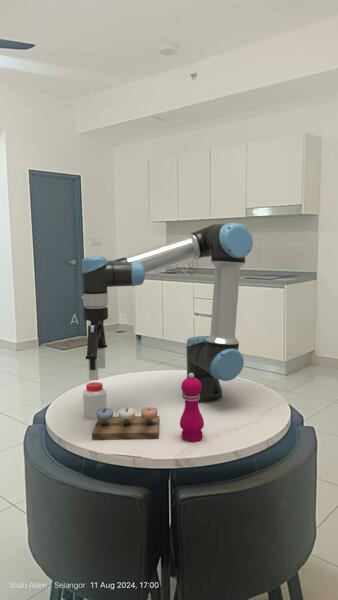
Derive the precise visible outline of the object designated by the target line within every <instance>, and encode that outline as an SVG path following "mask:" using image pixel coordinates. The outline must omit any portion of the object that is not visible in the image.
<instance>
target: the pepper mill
mask: <svg viewBox="0 0 338 600" xmlns="http://www.w3.org/2000/svg"><path fill="white" fill-rule="evenodd" d="M188 377H189V378H187V377H186V378H184V380H183V381H182V382H181V391H182V397H183V398H182V399H183V400H184V409H183V412H182V414H181V417H180V420H179V427H180V429H182V431H181V439H182V440H183V441H186V442H193V443H194V442H198V441H201V440H202V439H203V431H202V429H203V428H205V427H204V426H205V423H204V417H203V415H202V413H201V411H200V409H199V407H200V406H199V402H198V401H199V399H200V394H199V392H200V391H201V388H202V386H201V382H200V381H199V380H198V379H196V378H194V374H193V373H189V375H188ZM183 392H184V394H183Z"/></svg>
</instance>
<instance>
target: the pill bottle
mask: <svg viewBox="0 0 338 600" xmlns="http://www.w3.org/2000/svg"><path fill="white" fill-rule="evenodd" d="M85 387H86V388H85V390H84V391H83V392H82V401H83V418H84V419H86V420H90V421H97V415H96V411H97V410H98V409H102V408H108V406H107V391H106V389H105V388H103V387H104V386H103V383H101V382H95V381H94V382H90V383H87V384H86V386H85Z"/></svg>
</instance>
